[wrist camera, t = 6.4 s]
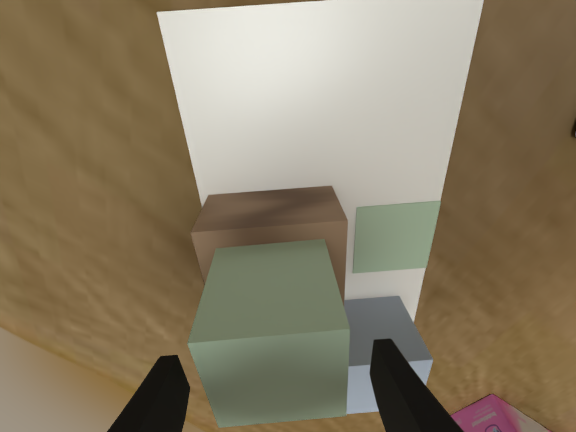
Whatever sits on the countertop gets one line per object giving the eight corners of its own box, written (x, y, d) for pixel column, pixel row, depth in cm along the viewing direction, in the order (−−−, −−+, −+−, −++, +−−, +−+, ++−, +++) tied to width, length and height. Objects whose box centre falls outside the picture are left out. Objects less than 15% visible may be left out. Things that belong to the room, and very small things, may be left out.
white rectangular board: (477, -8, 13) (487, -12, 12) (402, 353, 25) (406, 360, 24) (161, 14, 13) (155, 11, 12) (241, 366, 25) (240, 374, 24)
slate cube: (399, 295, 21) (433, 359, 16) (391, 341, 23) (419, 407, 19) (330, 301, 21) (345, 366, 16) (329, 346, 23) (342, 414, 19)
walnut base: (331, 185, 16) (347, 220, 13) (330, 279, 20) (343, 328, 16) (208, 194, 16) (190, 232, 13) (228, 287, 20) (218, 338, 16)
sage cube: (324, 238, 13) (350, 328, 9) (325, 315, 16) (346, 416, 11) (215, 248, 13) (187, 343, 9) (234, 323, 16) (218, 427, 11)
